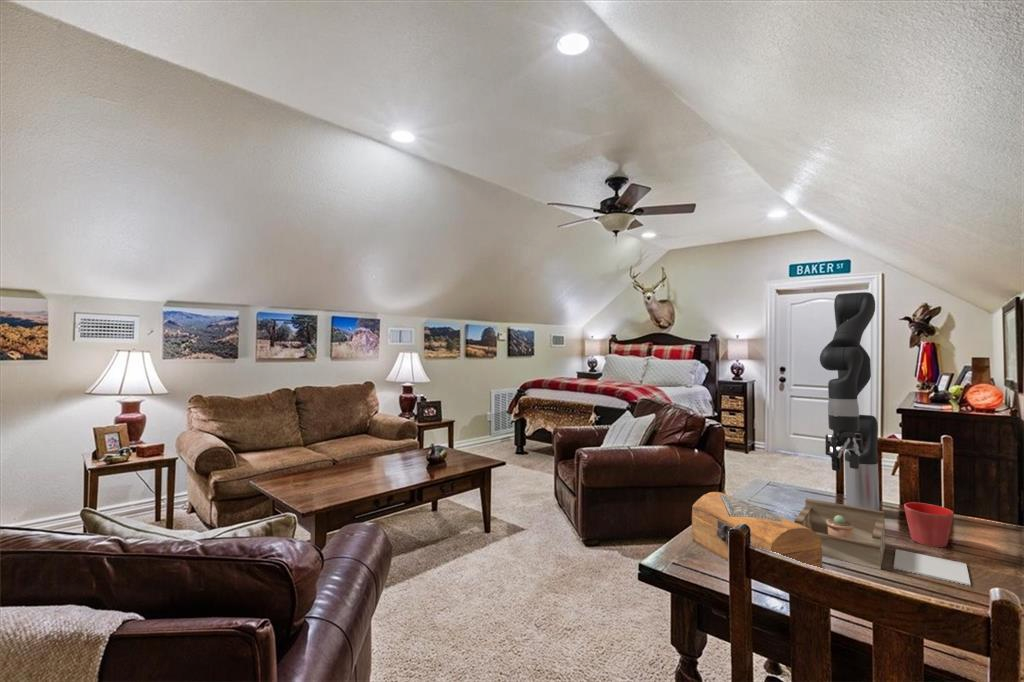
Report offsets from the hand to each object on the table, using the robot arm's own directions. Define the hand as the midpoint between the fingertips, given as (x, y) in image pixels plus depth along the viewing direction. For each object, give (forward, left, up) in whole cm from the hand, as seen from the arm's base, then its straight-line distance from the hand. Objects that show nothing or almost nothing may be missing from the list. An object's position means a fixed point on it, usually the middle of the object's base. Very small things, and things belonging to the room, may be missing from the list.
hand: (845, 469), depth 139 cm
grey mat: (+8, +18, -21) cm, 28 cm away
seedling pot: (+8, -1, -21) cm, 22 cm away
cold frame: (+8, -1, -21) cm, 22 cm away
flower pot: (-13, +18, -21) cm, 30 cm away
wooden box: (+32, -18, -21) cm, 42 cm away
